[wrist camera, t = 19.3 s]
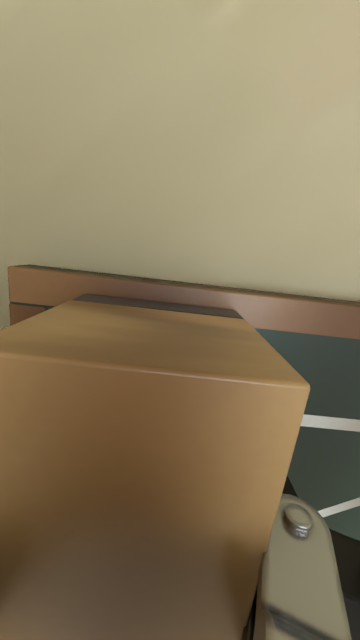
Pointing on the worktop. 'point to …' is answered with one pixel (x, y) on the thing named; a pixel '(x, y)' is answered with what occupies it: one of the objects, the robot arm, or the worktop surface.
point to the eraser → (139, 469)
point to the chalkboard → (286, 338)
